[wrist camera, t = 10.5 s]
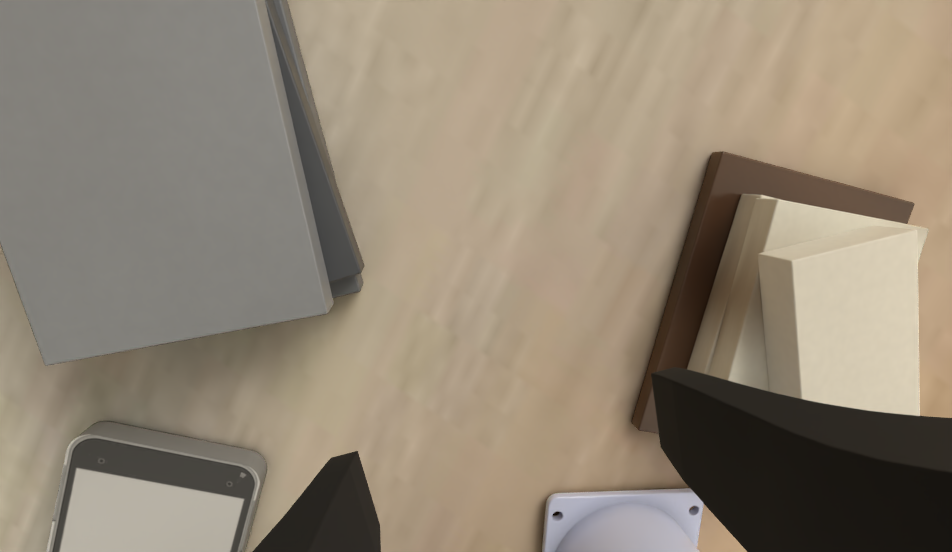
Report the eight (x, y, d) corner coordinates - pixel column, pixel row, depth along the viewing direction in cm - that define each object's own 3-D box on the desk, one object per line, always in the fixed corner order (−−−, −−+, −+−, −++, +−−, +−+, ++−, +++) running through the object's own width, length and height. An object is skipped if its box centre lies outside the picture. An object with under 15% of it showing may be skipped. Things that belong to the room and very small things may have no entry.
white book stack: (808, 450, 25) (867, 491, 22) (630, 422, 24) (666, 462, 20) (898, 202, 23) (979, 206, 20) (711, 152, 22) (765, 147, 18)
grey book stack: (373, 282, 21) (364, 307, 17) (124, 340, 20) (51, 382, 16) (281, -66, 18) (243, -138, 14) (-14, -15, 17) (-147, -76, 13)
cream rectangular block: (879, 406, 21) (920, 426, 20) (772, 435, 21) (805, 459, 19) (872, 225, 20) (918, 229, 18) (756, 253, 19) (791, 260, 17)
